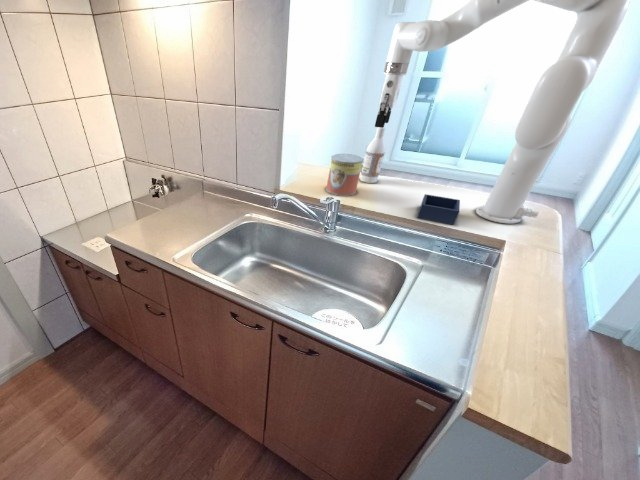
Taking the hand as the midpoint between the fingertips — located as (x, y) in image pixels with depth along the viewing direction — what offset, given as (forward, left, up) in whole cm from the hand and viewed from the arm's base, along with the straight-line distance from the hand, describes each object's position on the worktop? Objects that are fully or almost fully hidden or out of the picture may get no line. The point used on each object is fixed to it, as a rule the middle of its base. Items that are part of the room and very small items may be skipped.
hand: (381, 124), depth 122 cm
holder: (-27, +25, -21) cm, 42 cm away
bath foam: (0, 0, -21) cm, 21 cm away
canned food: (+7, +17, -21) cm, 28 cm away
